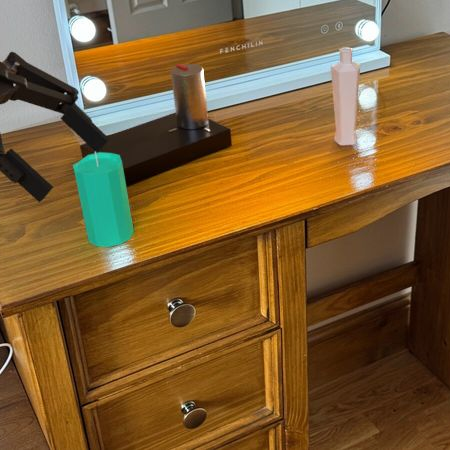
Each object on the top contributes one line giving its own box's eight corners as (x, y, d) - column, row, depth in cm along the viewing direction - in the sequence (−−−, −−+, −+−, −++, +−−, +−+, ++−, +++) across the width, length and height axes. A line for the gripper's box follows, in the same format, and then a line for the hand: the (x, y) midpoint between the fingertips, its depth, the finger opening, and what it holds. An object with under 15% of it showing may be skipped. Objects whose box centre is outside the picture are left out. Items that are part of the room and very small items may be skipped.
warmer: (123, 188, 111) (120, 169, 109) (82, 162, 119) (79, 144, 117) (239, 142, 123) (238, 124, 122) (196, 122, 131) (194, 104, 129)
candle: (122, 218, 104) (107, 137, 98) (141, 236, 100) (128, 153, 93) (80, 233, 101) (62, 150, 95) (98, 252, 97) (81, 167, 90)
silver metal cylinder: (214, 123, 123) (209, 67, 118) (189, 132, 120) (182, 75, 115) (196, 114, 126) (190, 60, 121) (171, 123, 123) (164, 68, 118)
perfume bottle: (346, 149, 120) (346, 56, 112) (327, 141, 123) (326, 50, 115) (366, 140, 123) (368, 49, 115) (347, 132, 125) (347, 43, 118)
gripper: (-5, 34, 105) (110, 144, 109) (-144, 103, 85) (3, 235, 89) (19, -3, 101) (138, 113, 105) (-121, 60, 81) (33, 201, 84)
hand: (76, 169), depth 97 cm, fingers open, 13 cm apart
